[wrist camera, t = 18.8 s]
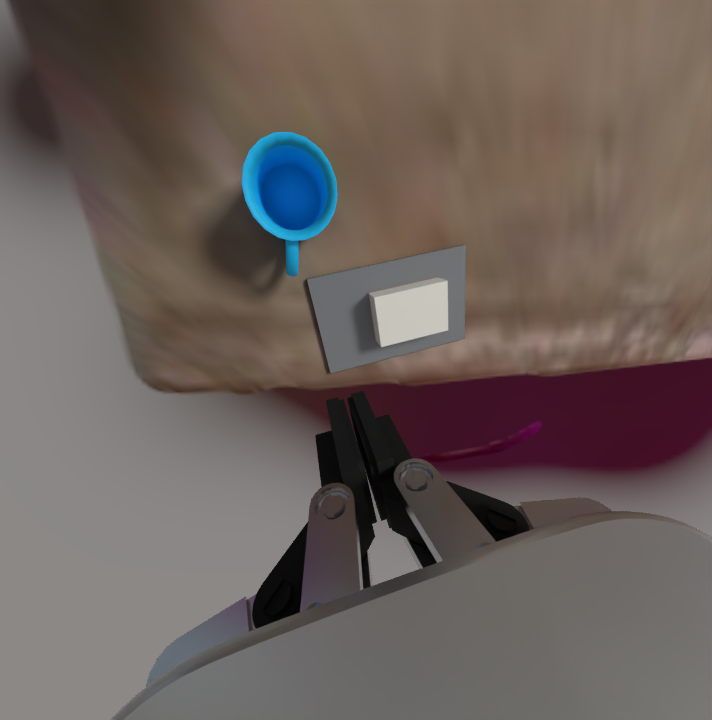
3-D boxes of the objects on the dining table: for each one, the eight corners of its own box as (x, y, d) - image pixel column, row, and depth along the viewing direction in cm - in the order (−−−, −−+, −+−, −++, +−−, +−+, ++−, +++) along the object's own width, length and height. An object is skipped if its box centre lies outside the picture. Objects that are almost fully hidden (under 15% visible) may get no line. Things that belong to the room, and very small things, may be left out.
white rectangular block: (374, 297, 34) (447, 280, 35) (368, 292, 37) (436, 277, 38) (381, 347, 37) (448, 330, 38) (375, 339, 40) (438, 323, 41)
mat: (306, 278, 35) (307, 279, 34) (463, 244, 37) (465, 245, 37) (330, 371, 41) (330, 373, 41) (462, 337, 44) (464, 338, 43)
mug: (250, 149, 28) (237, 122, 21) (328, 161, 30) (340, 140, 23) (258, 269, 33) (249, 280, 26) (324, 273, 35) (333, 284, 28)
